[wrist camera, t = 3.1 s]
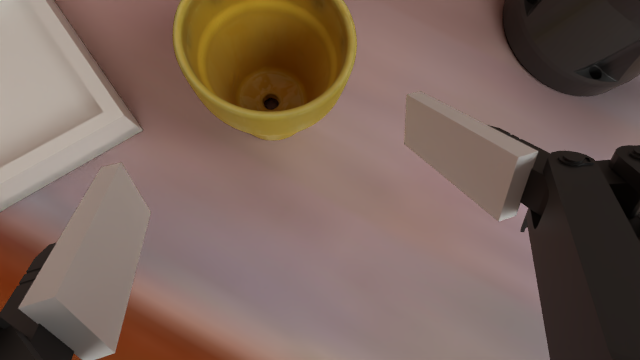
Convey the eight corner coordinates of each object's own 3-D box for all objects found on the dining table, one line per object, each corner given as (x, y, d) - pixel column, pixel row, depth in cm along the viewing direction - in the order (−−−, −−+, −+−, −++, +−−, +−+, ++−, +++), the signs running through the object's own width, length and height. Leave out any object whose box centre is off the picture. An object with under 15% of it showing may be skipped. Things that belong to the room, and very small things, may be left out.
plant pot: (280, 188, 25) (279, 157, 15) (185, 111, 25) (127, 34, 16) (353, 102, 27) (391, 28, 18) (265, 32, 28) (257, -77, 18)
